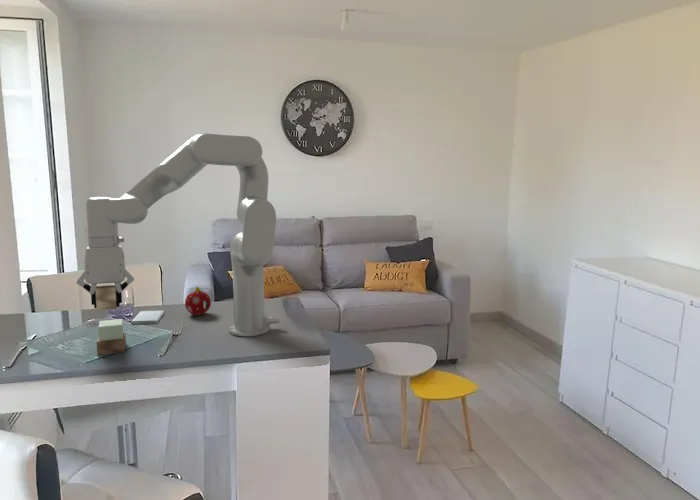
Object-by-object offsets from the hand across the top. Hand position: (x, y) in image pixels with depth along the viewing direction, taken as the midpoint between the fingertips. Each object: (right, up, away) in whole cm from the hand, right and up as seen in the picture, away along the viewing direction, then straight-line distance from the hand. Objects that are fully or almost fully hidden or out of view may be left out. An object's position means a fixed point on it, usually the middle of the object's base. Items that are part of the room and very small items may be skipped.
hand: (107, 305), depth 152 cm
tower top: (0, -9, +2) cm, 9 cm away
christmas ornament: (+15, -7, +37) cm, 41 cm away
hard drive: (0, -8, +32) cm, 33 cm away
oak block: (0, 0, 0) cm, 1 cm away
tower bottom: (0, -13, +2) cm, 13 cm away
